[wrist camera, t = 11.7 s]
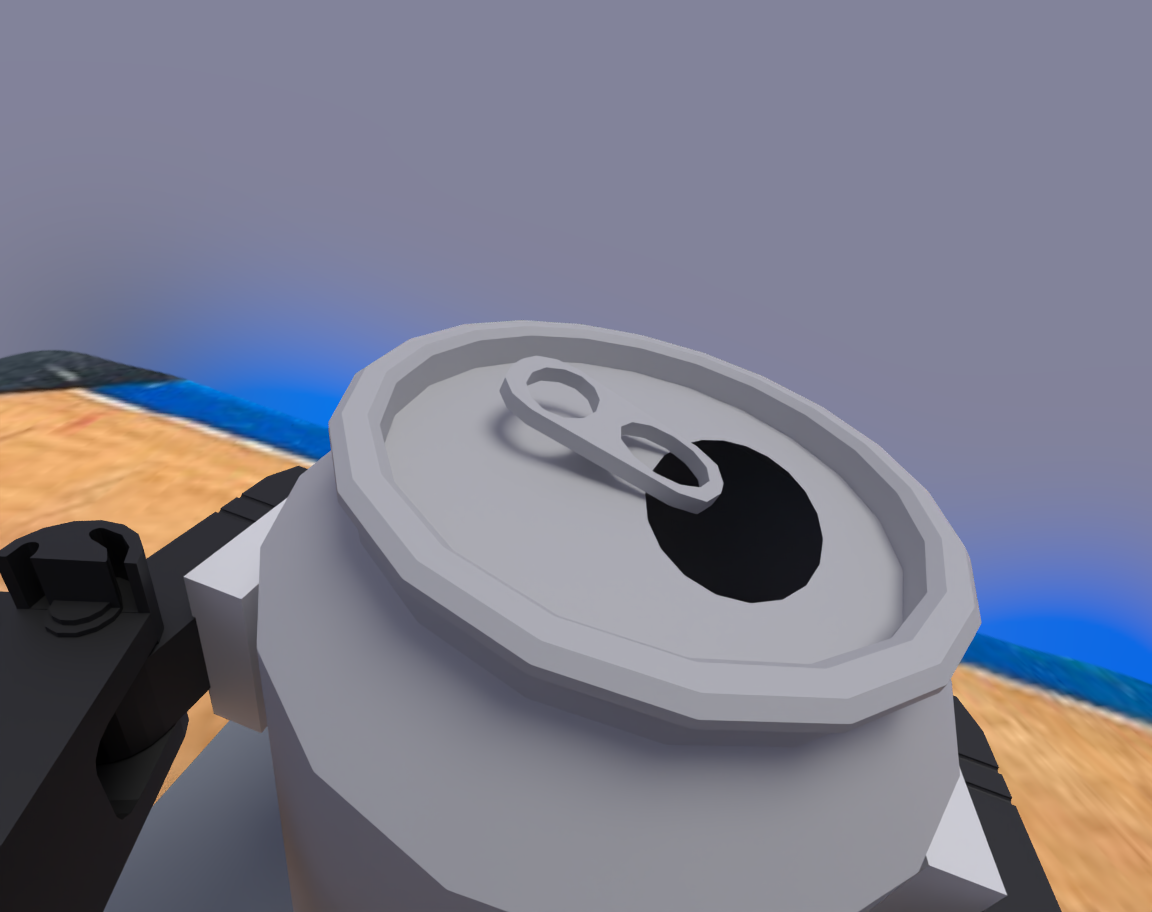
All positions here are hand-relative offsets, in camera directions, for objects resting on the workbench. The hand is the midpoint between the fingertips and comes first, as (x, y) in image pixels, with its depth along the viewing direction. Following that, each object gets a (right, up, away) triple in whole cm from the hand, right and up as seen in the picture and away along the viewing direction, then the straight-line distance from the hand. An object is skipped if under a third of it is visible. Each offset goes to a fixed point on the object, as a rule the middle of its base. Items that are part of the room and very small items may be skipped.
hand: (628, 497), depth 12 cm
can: (-3, -9, 0) cm, 9 cm away
